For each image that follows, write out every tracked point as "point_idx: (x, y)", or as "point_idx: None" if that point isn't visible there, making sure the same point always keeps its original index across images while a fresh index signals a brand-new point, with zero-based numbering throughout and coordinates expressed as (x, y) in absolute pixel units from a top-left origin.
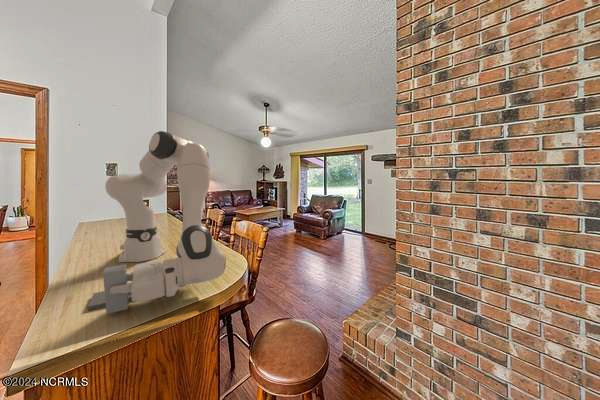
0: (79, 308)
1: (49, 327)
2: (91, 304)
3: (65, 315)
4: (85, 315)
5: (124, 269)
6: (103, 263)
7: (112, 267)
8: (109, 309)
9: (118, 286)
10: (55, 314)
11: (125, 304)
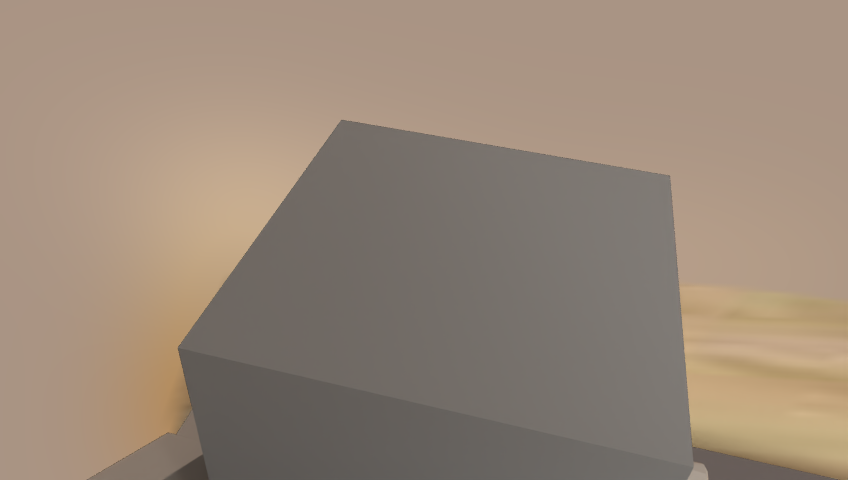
0: (833, 456)
1: None
2: (711, 470)
3: (739, 380)
4: None
5: (190, 347)
6: None
7: (605, 237)
8: None
9: (178, 434)
10: (790, 343)
11: None
